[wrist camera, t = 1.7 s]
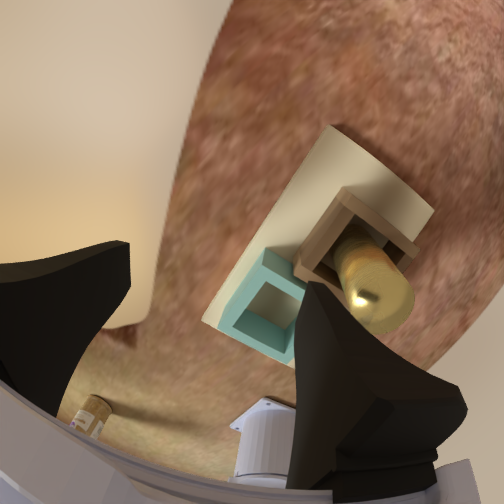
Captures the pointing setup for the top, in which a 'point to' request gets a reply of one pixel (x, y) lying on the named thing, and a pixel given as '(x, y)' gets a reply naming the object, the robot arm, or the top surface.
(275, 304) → the board
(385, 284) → the pin
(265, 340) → the socket
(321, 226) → the mount
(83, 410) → the spice jar
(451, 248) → the top surface
